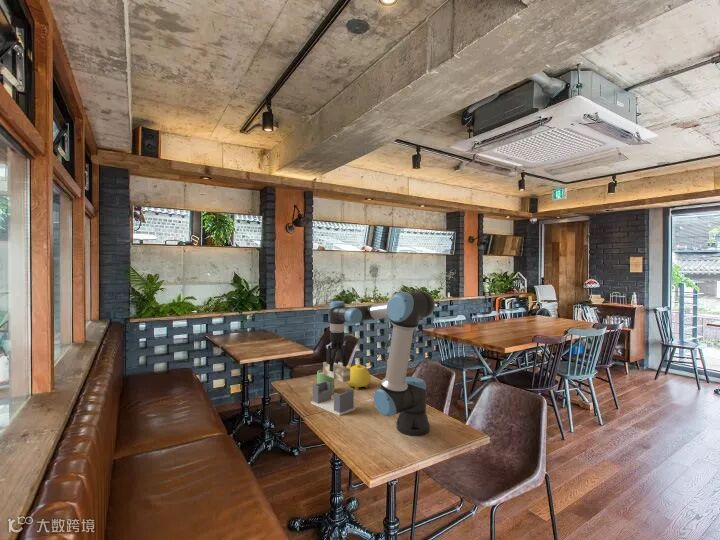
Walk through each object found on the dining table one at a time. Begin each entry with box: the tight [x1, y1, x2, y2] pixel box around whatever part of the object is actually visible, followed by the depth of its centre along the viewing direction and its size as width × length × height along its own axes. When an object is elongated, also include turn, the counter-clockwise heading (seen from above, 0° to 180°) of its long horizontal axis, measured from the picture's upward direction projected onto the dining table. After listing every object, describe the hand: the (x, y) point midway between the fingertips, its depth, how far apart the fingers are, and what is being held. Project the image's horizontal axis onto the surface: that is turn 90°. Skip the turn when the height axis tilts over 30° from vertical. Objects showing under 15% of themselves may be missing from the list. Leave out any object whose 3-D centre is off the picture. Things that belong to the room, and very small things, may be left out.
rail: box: [322, 361, 350, 383], centre depth 195 cm, size 17×4×6 cm, turn 41°
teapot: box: [345, 363, 372, 391], centre depth 234 cm, size 20×16×14 cm
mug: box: [316, 369, 335, 395], centre depth 223 cm, size 13×10×12 cm
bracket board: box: [310, 381, 356, 417], centre depth 199 cm, size 23×11×10 cm, turn 45°
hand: (336, 376), depth 195 cm, fingers closed on rail, 5 cm apart
